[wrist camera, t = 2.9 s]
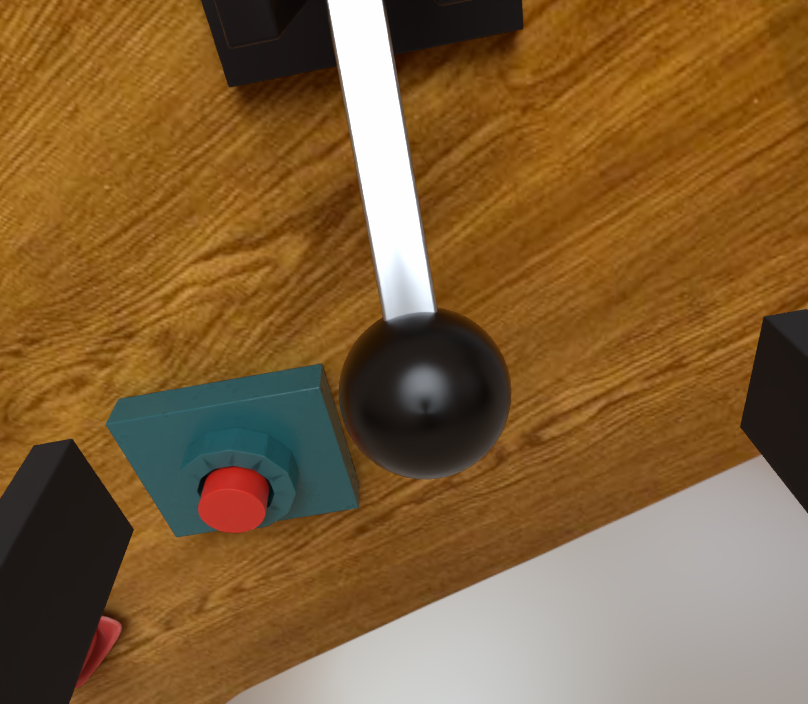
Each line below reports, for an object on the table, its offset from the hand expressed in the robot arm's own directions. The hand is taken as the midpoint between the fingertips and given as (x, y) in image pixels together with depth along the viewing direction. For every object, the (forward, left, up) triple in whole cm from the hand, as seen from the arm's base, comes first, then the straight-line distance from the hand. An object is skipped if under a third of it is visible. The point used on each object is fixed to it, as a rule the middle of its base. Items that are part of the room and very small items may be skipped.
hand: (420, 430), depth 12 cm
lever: (0, -3, -5) cm, 6 cm away
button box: (+12, +16, -19) cm, 27 cm away
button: (+12, +16, -15) cm, 25 cm away
